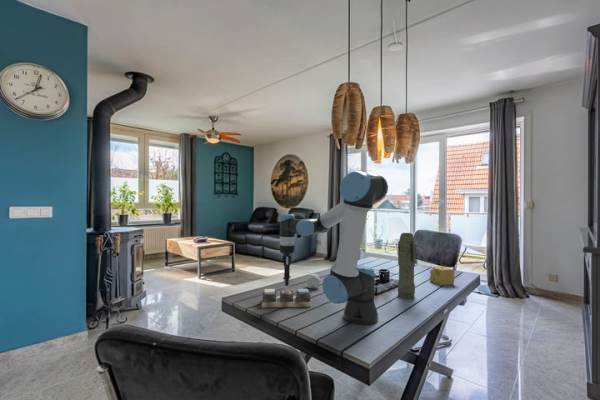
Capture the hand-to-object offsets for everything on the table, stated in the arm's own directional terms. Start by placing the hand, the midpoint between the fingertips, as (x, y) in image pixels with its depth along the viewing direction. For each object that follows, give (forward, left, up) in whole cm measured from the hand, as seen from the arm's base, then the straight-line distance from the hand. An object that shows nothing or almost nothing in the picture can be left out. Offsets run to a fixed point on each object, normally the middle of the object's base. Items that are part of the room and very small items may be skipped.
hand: (286, 291), depth 145 cm
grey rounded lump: (+19, -24, -6) cm, 32 cm away
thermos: (-14, -65, -6) cm, 67 cm away
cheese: (-2, -107, -7) cm, 108 cm away
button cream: (+3, +8, -3) cm, 9 cm away
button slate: (-3, -8, -3) cm, 9 cm away
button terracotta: (0, 0, -4) cm, 4 cm away
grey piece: (0, 0, -6) cm, 6 cm away
